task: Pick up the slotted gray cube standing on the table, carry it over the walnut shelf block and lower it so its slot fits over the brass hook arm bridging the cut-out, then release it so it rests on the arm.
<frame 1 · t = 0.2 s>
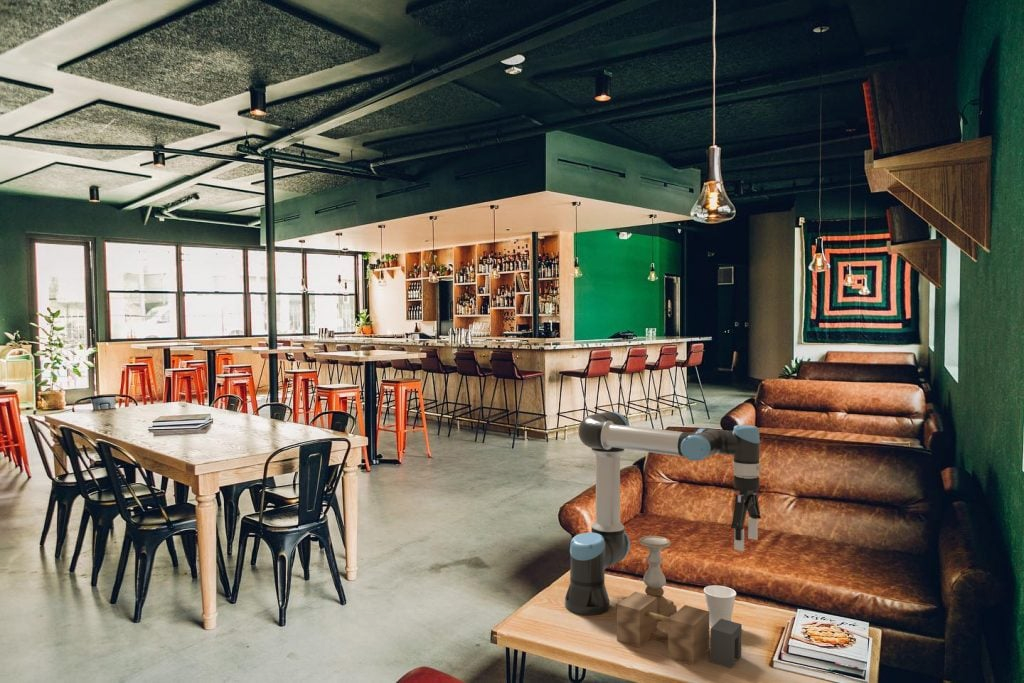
hand: (746, 544, 199), 28 cm above the table, fingers open, 13 cm apart
slotted gray cube: (726, 659, 183), on the table
cup: (719, 626, 204), on the table
candle holder: (654, 612, 215), on the table
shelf: (662, 644, 191), on the table
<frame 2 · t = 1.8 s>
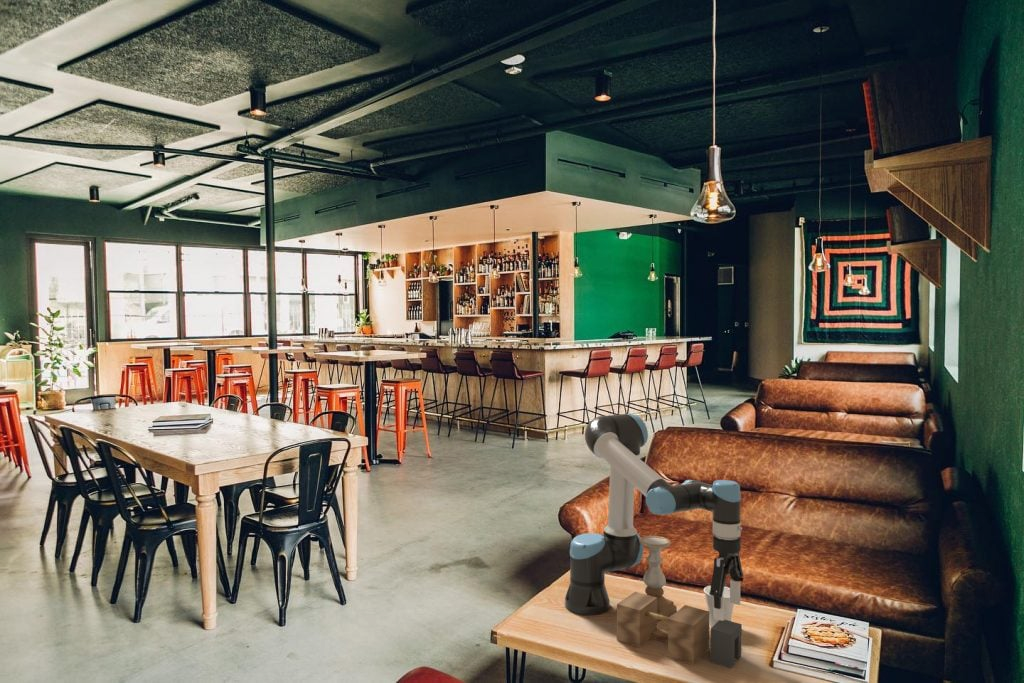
hand: (727, 611, 182), 14 cm above the table, fingers open, 13 cm apart
nothing on the table moved.
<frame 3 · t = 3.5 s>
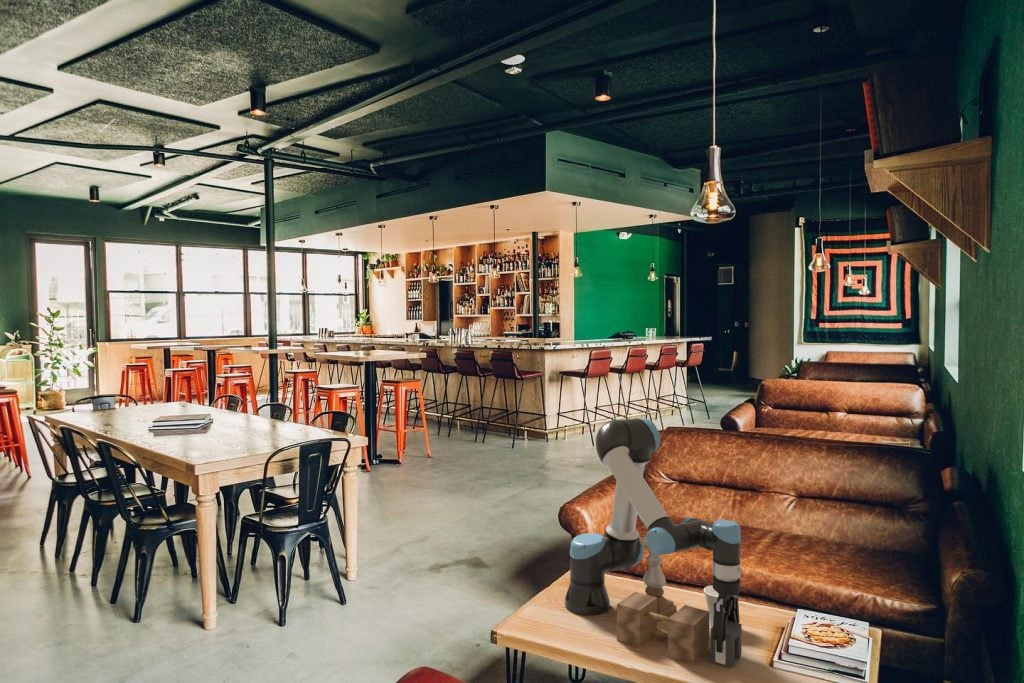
hand: (726, 656, 183), 1 cm above the table, fingers closed on slotted gray cube, 8 cm apart
slotted gray cube: (726, 659, 183), on the table, touching gripper
everything else where it was.
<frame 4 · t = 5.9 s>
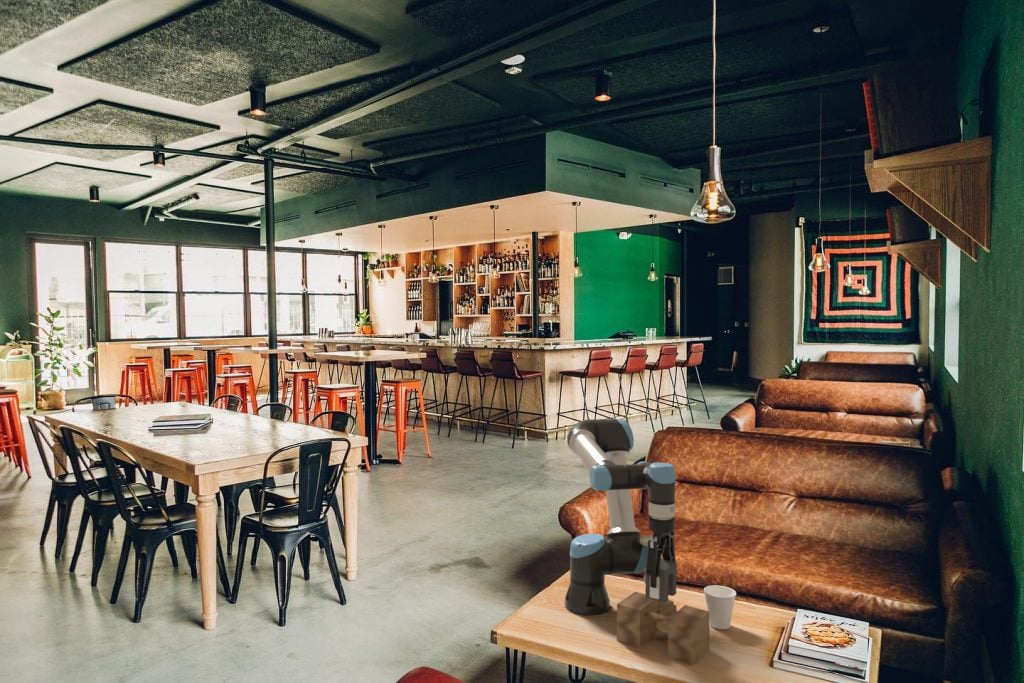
hand: (661, 592, 190), 16 cm above the table, fingers closed on slotted gray cube, 8 cm apart
slotted gray cube: (661, 595, 190), point 15 cm above the table, touching gripper
candle holder: (654, 611, 215), on the table, touching arm
everything else where it was.
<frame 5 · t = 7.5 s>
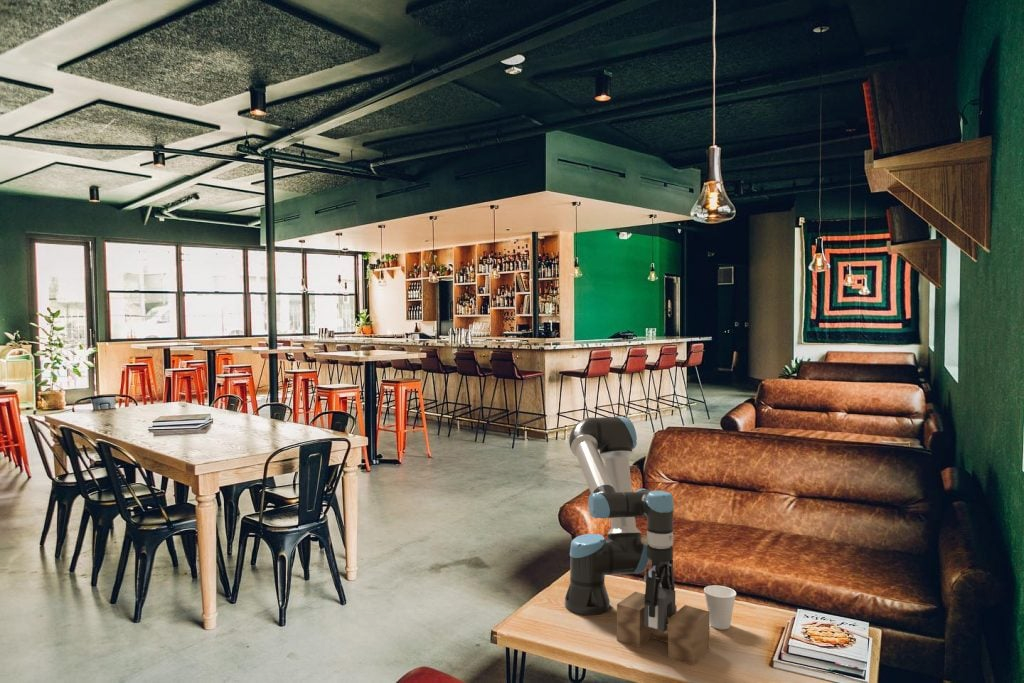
hand: (659, 621, 190), 8 cm above the table, fingers closed on slotted gray cube, 8 cm apart
slotted gray cube: (659, 624, 190), point 7 cm above the table, touching gripper
everything else where it was.
when the fingers open (5 cm above the table, at t = 8.5 s): slotted gray cube drops 1 cm, resting on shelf.
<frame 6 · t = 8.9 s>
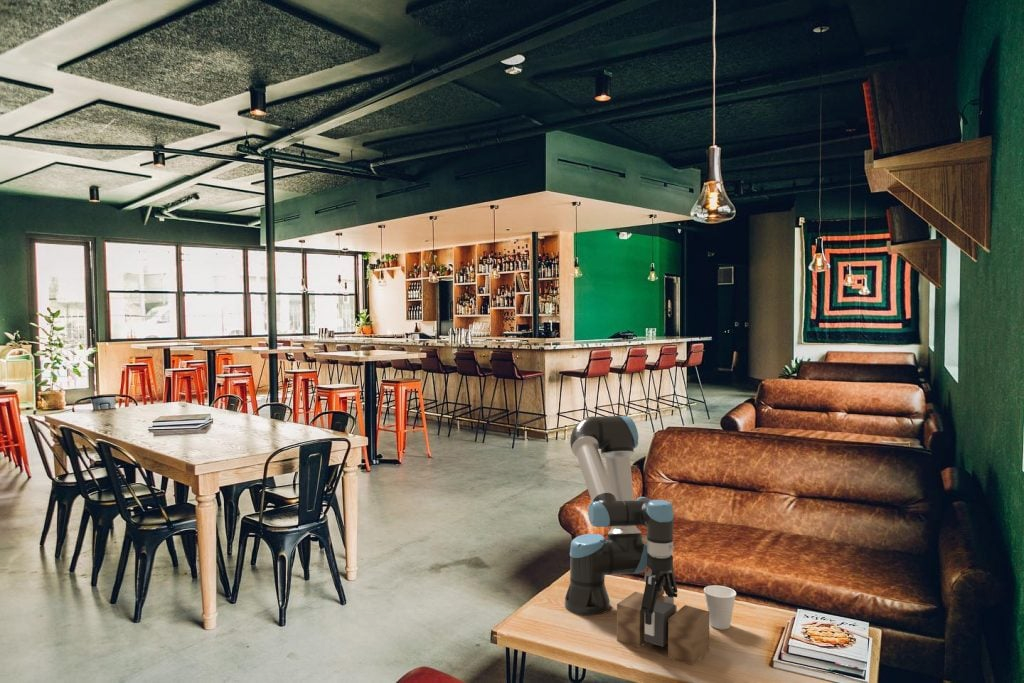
hand: (659, 626, 190), 6 cm above the table, fingers open, 13 cm apart
slotted gray cube: (659, 638, 190), point 2 cm above the table, touching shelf
everything else where it was.
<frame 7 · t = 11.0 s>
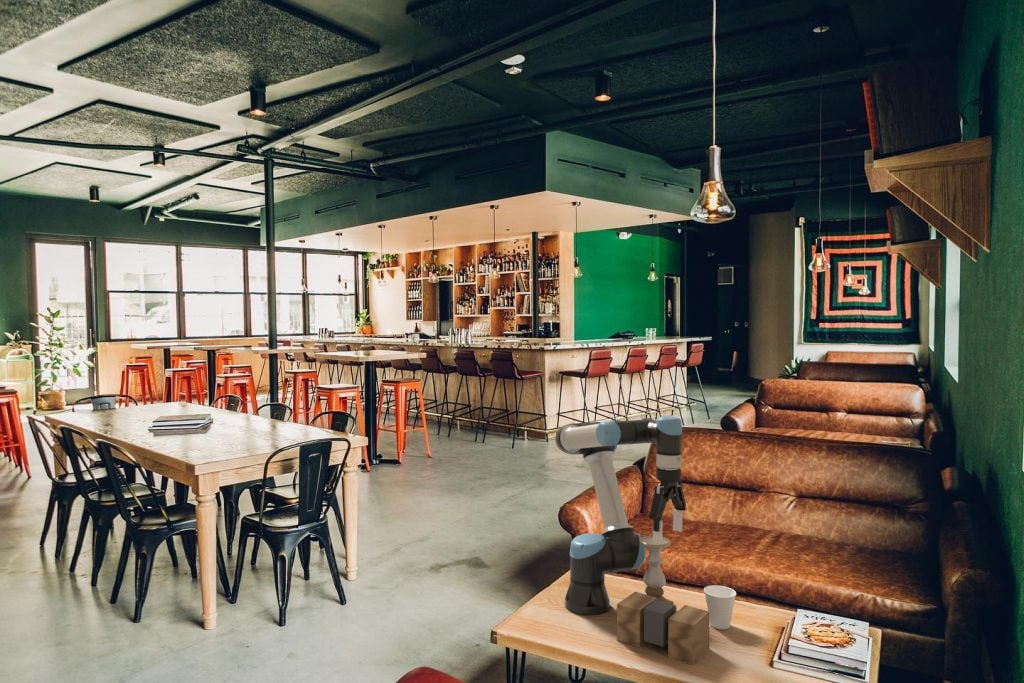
hand: (667, 536, 198), 30 cm above the table, fingers open, 13 cm apart
candle holder: (654, 612, 215), on the table
everything else where it was.
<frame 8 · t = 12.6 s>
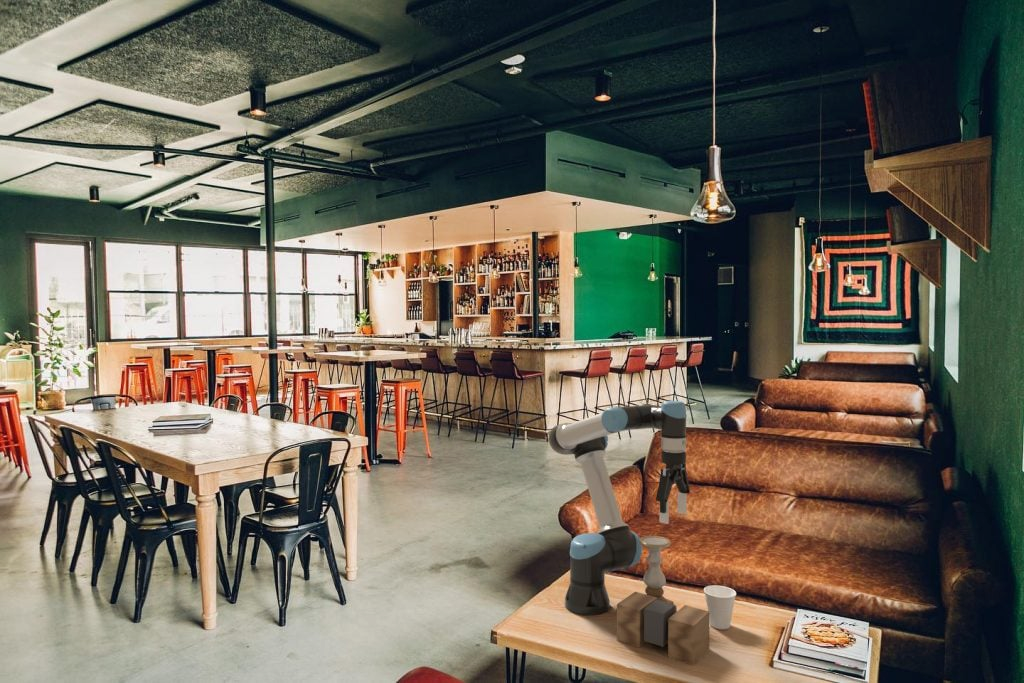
hand: (673, 518, 202), 35 cm above the table, fingers open, 13 cm apart
nothing on the table moved.
at the end: slotted gray cube 0.1 cm from the target spot on the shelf, point 2.5 cm above the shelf's base; slotted gray cube touching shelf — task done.
